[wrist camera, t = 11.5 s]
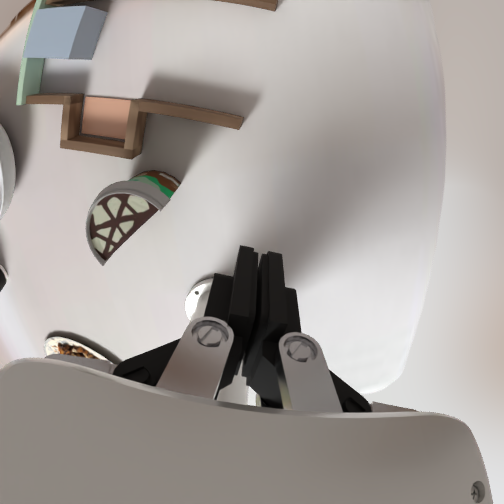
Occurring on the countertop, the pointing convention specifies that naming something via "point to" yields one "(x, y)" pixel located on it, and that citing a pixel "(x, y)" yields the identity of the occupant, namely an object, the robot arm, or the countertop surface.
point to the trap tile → (105, 117)
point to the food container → (126, 210)
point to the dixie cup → (3, 277)
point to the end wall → (31, 66)
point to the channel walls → (131, 110)
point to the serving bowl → (6, 172)
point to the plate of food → (69, 348)
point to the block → (65, 33)
